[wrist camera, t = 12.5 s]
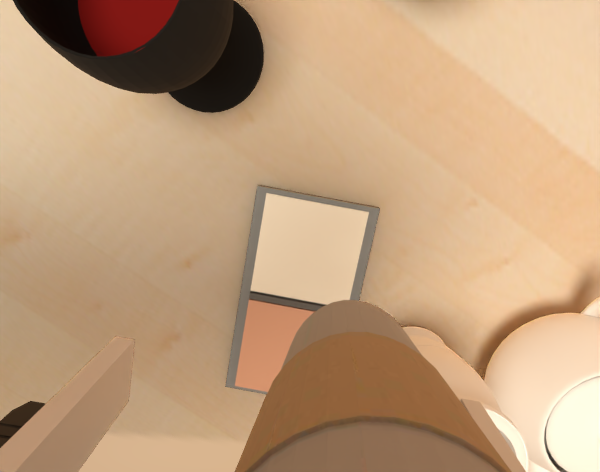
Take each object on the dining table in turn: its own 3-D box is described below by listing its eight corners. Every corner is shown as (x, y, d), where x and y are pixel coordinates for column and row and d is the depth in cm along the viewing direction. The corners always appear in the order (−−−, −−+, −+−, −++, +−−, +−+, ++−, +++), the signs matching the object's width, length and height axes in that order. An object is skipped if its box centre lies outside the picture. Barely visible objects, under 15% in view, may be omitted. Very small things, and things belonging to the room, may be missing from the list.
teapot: (509, 251, 41) (589, 294, 29) (660, 282, 41) (804, 339, 29) (440, 459, 46) (484, 569, 34) (574, 487, 46) (664, 606, 34)
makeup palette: (227, 381, 45) (224, 389, 43) (258, 184, 40) (256, 186, 38) (334, 401, 45) (334, 409, 43) (378, 207, 40) (380, 209, 39)
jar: (416, 421, 45) (465, 554, 30) (340, 372, 44) (352, 485, 29) (478, 349, 43) (562, 455, 28) (399, 297, 42) (444, 377, 27)
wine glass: (286, 38, 37) (253, -83, 17) (225, 135, 39) (136, 123, 20) (189, -33, 36) (40, -244, 17) (133, 70, 38) (-59, -9, 19)
